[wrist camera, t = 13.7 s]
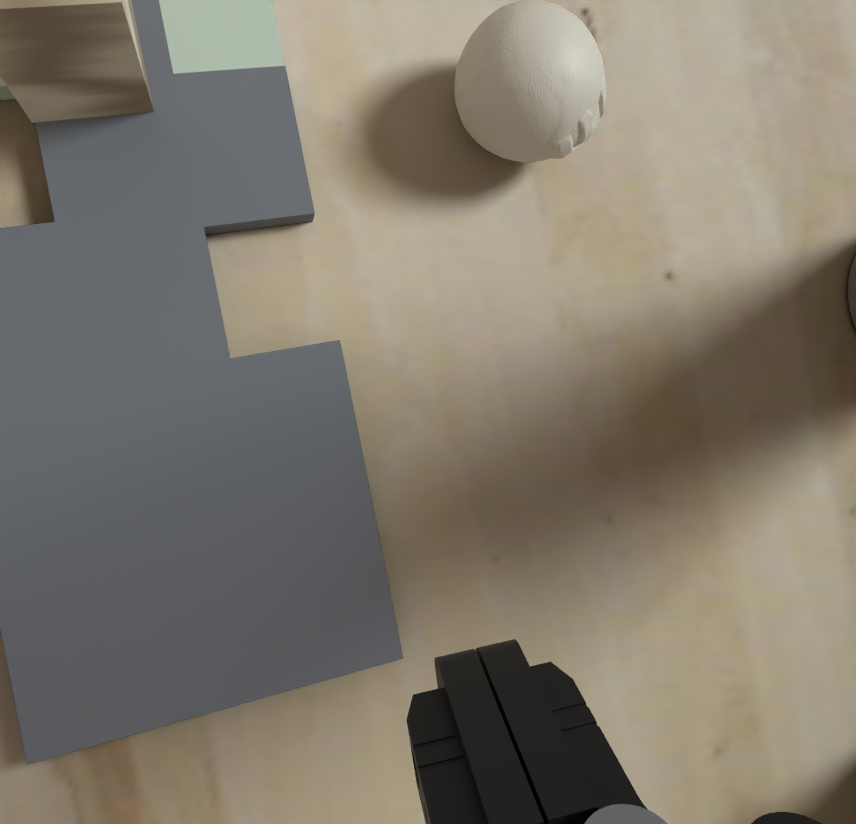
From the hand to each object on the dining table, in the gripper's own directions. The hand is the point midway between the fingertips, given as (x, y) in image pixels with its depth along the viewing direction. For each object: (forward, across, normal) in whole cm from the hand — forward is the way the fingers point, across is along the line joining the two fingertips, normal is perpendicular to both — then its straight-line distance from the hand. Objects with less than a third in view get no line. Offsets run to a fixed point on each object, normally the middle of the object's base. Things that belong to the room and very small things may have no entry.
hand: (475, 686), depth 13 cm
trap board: (+24, +9, -4) cm, 26 cm away
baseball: (+29, -10, -9) cm, 32 cm away
